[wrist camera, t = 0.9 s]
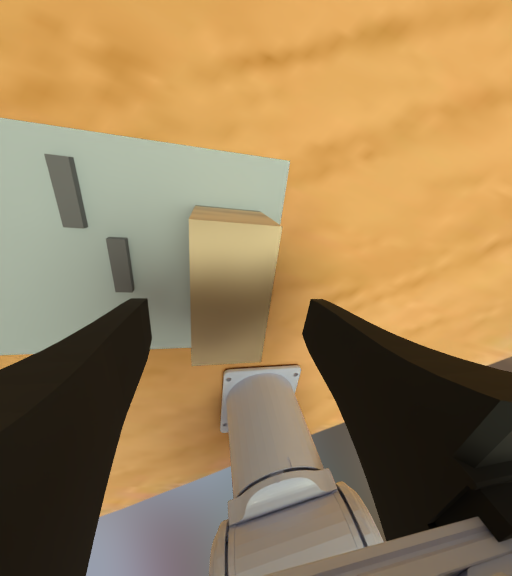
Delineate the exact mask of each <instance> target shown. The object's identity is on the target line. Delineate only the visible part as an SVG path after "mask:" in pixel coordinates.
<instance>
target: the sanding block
mask: <svg viewBox="0 0 512 576" xmlns="http://www.w3.org/2000/svg"><path fill="white" fill-rule="evenodd" d="M281 233H282V226H281V225H279V224H278V223H276V222H275V221H274V220H272V219H271V218H269V217H268V216H266V215H265V214H263V213H262V212H260V211H254V210H243V209H232V208H222V207H211V206H201V205H195V207H194V209H193V211H192V213H191V215H190V217H189V260H190V311H191V362H192V366H201V365H219V364H236V363H254V362H261V358H262V352H263V346H264V339H265V333H266V327H267V321H268V314H269V308H270V302H271V296H272V289H273V283H274V277H275V270H276V264H277V258H278V252H279V245H280V239H281Z"/></svg>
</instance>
